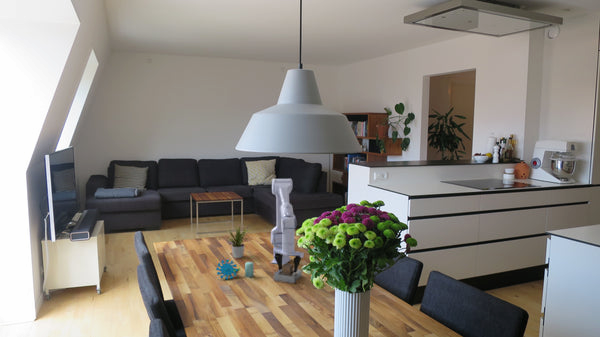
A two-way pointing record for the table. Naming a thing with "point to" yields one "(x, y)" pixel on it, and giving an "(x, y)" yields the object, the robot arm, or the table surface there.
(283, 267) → the square bit
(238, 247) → the house plant
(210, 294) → the table surface
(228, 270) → the blue virus model
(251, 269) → the round dowel
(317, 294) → the table surface
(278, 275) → the socket block
